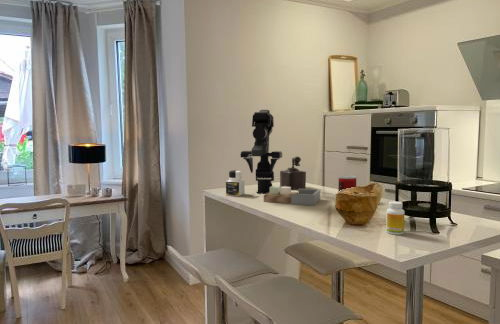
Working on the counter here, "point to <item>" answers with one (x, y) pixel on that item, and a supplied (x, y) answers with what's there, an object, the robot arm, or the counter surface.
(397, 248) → the counter surface
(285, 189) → the cream tile
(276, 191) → the sage tile
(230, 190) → the medicine bottle
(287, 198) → the riser board
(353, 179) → the canned food
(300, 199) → the box
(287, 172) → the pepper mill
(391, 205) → the supplement bottle
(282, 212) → the counter surface
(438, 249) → the counter surface
